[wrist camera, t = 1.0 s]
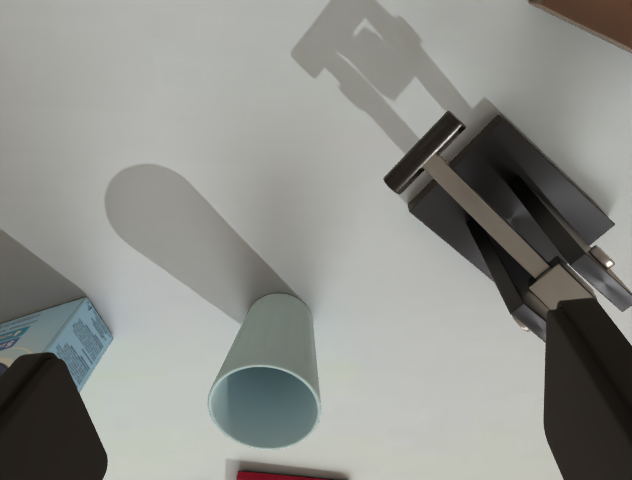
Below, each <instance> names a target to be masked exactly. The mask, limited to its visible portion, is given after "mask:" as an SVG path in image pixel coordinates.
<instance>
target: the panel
mask: <svg viewBox="0 0 632 480" xmlns="http://www.w3.org/2000/svg"><path fill="white" fill-rule="evenodd" d="M529 3H530V4H532V5H534V6H536V7H538V8H540V9H542V10H544V11H546V12H548V13H550V14H552V15H554V16H556V17H558V18H560V19H562V20H564V21H566V22H568V23H570V24H573V25H575V26H577V27H579V28H581V29H583V30H585V31H587V32H589V33H591V34H593V35H595V36H597V37H599V38H601V39H603V40H605V41H607V42H609V43H611V44H613V45H615V46H617V47H620V48H622V49H624V50H626V51H628V52H630V53H632V0H530V1H529Z"/></svg>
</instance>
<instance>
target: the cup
mask: <svg viewBox="0 0 632 480" xmlns="http://www.w3.org/2000/svg"><path fill="white" fill-rule="evenodd" d="M208 409H209V413H210V416H211V418H212V420H213V422H214V424H215V425H216V426H217V428H218V429H219V430H220V431H221V432H222V433H223V434H224V435H226V436H227V437H228V438H230V439H232V440H233V441H235V442H237V443H239V444H242V445H244V446H247V447H251V448H256V449H263V450H275V449H282V448H287V447H290V446H293V445H296V444H298V443H300V442H301V441H303V440H305V439H306V438H307V437H308V436H310V435H311V434H312V432H313V431H314V430H315V428H316V427H317V425H318V423H319V420H320V417H321V401H320V391H319V381H318V371H317V360H316V349H315V339H314V329H313V320H312V316H311V314H310V311H309V309H308V307H307V306H306V305H305V304H304V303H303V302H302V301H301V300H299V299H298V298H296V297H293V296H291V295H288V294H280V293H276V294H269V295H266V296H264V297H261V298H260V299H258V300H257V301H256V302H255V303H254V304H253V305H252V307H251V308H250V310H249V312H248V314H247V316H246V318H245V320H244V322H243V324H242V326H241V328H240V330H239V332H238V334H237V336H236V338H235V340H234V342H233V344H232V347H231V349H230V351H229V353H228V355H227V357H226V359H225V361H224V363H223V365H222V367H221V369H220V371H219V373H218V375H217V377H216V379H215V381H214V384H213V386H212V388H211V390H210V393H209V396H208Z"/></svg>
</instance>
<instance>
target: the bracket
mask: <svg viewBox="0 0 632 480" xmlns="http://www.w3.org/2000/svg"><path fill="white" fill-rule="evenodd" d="M449 165H450V166H451V167H452V168H453V169H454V170H455V171H456V172H457V173H458V174H459V175H461V176H462V177H463V178H464V179H465V180H466V181H467V182H468V183H469V184H470V185H471V186H472V187H473V188H474V189H475V190H476V191H477V192H478V193H479V194H480V195H481V196H482V197H483V198H484V199H485V200H486V201H487V202H488V203H489V204H490V205H491V206H492V207H493V208H494V209H495V210H496V211H497V212H498V213H499V214H500V215H501V216H502V217H503V218H504V219H505V220H506V221H507V222H508V223H509V224H510V225H511V226H512V227H514V228H515V229H516V230H517V231H518V232H519V233H520V234H521V235H522V236H523V237H524V238H525V239H526V240H527V241H528V242H529V243H530V244H531V245H532V246H533V247H534V248H535V249H536V250H537V251H538V252H539V253H540V254H541V255H542V256H543V257H544V258H545V259H546V260H547V261H548V262H550V261H551V260H552V259H553V258H554V257H556V256H559V257H560V258H561V259H562V260H563V261H564V262H565V263H566V264H567V263H568V264H569V265H570V266H571V267H572V268H573V269H574V270H576V271H577V272H578V273H579V274H580V275H581V276H582V277H583V278H585V279H586V280H587V281H588V282H589V283H590V284H591V285H592V286H594V287H595V288H596V289H597V290H598V291H599V292H600V293H602V294H603V295H604V296H605V297H606V298H607V299H608V300H609V301H611V302H612V303H613V304H614V305H615V306H616V307H617V308H618V309H620V310H621V311H622V312H623V311H625V310H626V309H627V308H629V307H630V306H632V293H631V292H630V290H629V289H628V288H627V287H626V286H625V285H624V284H623V283H622V282H621V280H620V279H619V278H618V277H617V276H616V275H615V274H614V273H613V272H612V270H611V269H610V268H611V267H612V266H614V265H615V263H614V262H613V260H612V259H611V258H610V257H609V256H608V255H607V254H606V253H605V252H603V251H602V250H601V249H600V248H599V247H598V246H597V245H595V246H594V247H592V248H591V247H590V246H589V245H591V244H592V243H593V242H594V241H596V240H597V239H598V238H599V237H600V236H602V235H603V234H604V233H605V232H607V231H608V230H609V229H610V228H612V227H613V226H614V225H615V223H613V222H612V221H611V220H610V219H609V218H608V217H607V216H606V215H605V214H604V213H603V212H602V211H601V210H600V209H599V208H598V207H597V206H596V205H595V204H593V203H592V202H591V201H590V200H589V199H588V198H587V197H586V196H585V195H584V194H583V193H582V192H581V191H580V190H579V189H578V188H577V187H576V186H575V185H573V184H572V183H571V182H570V181H569V180H568V179H567V178H566V177H565V176H564V175H563V174H562V173H561V172H560V171H559V170H558V169H557V168H556V167H555V166H554V165H552V164H551V163H550V162H549V161H548V160H547V159H546V158H545V157H544V156H543V155H542V154H541V153H540V152H539V151H538V150H537V149H536V148H535V147H534V146H532V145H531V144H530V143H529V142H528V141H527V140H526V139H525V138H524V137H523V136H522V135H521V134H520V133H519V132H518V131H517V130H516V129H515V128H514V127H512V126H511V125H510V124H509V123H508V122H507V121H506V120H505V119H504V118H503V117H502V116H501V115H498V116H497V117H496V118H495V119H494V120H493V121H492V122H491V123H490V124H489V125H488V126H487V127H486V128H485V129H484V130H483V131H482V132H481V133H480V134H479V135H478V136H477V137H476V138H475V139H474V140H473V141H472V142H471V143H470V144H469V145H468V146H467V147H466V148H465V149H464V150H463V151H461V152H460V153H459V154H458V155H457V156H456V157H455V158H454V159H453V160H452V161H451V162H450V163H449ZM408 209H409V212H410V213H412V214H413V215H414V216H415V217H416V218H418V219H419V220H420V221H421V222H423V223H424V224H425V225H426V226H427V227H429V228H430V229H431V230H432V231H433V232H435V233H436V234H437V235H438V236H439V237H441V238H442V239H443V240H444V241H445V242H447V243H448V244H449V245H450V246H451V247H453V248H454V249H455V250H456V251H457V252H459V253H460V254H461V255H462V256H464V257H465V258H466V259H467V260H468V261H470V262H471V263H472V264H473V265H474V266H476V267H477V268H478V269H479V270H480V271H482V272H483V273H484V274H485V275H486V276H488V277H489V278H490V279H491V280H492V281H494V282H495V284H496V286H497V288H498V290H499V292H500V294H501V296H502V298H503V300H504V302H505V304H506V306H507V308H508V310H509V312H510V314H511V315H512V317H513V318H514V320H515V321H516V322H517V323H518V325H519V326H520V327H521V328H523V329H524V330H525V331H527V332H528V331H530V330H531V331H532V332H533V333H534V334H536V335H537V336H538V337H539V338H540V339H542V340H543V341H544V342H545V343H546V318H547V312H548V310H549V309H548V308H547V307H546V306H545V305H544V304H543V303H542V302H541V301H540V300H539V299H538V298H537V297H536V296H535V295H534V294H533V293H532V292H531V291H530V290H529V289H528V279H529V278H530V277H531V275H530V274H529V273H528V272H527V271H526V270H525V269H524V268H523V267H522V266H521V265H520V264H519V263H518V262H517V261H516V260H515V259H514V258H513V257H512V256H511V255H510V254H509V253H508V252H507V251H506V250H505V249H504V248H503V247H502V246H501V245H500V244H499V243H498V242H497V241H496V240H495V239H494V238H493V237H492V236H491V235H490V234H489V233H488V232H487V231H486V230H485V229H484V228H483V227H482V226H481V225H480V224H479V223H478V222H477V221H476V220H475V219H474V218H473V217H472V216H471V215H470V214H469V213H468V212H467V211H466V210H465V209H464V208H463V207H462V206H461V205H460V204H459V203H458V202H457V201H456V200H455V199H454V198H453V197H452V196H451V195H450V194H449V193H448V192H447V191H446V190H445V189H444V188H443V187H442V186H441V185H440V184H439V183H438V182H437V181H436V180H435V179H433V180H432V181H431V182H430V183H429V184H428V185H427V186H426V187H425V188H424V189H423V190H422V191H421V192H420V193H419V194H418V195H417V196H416V197H415V198H414V199H413V200H412V201H411V202H410V203H409V204H408Z"/></svg>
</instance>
